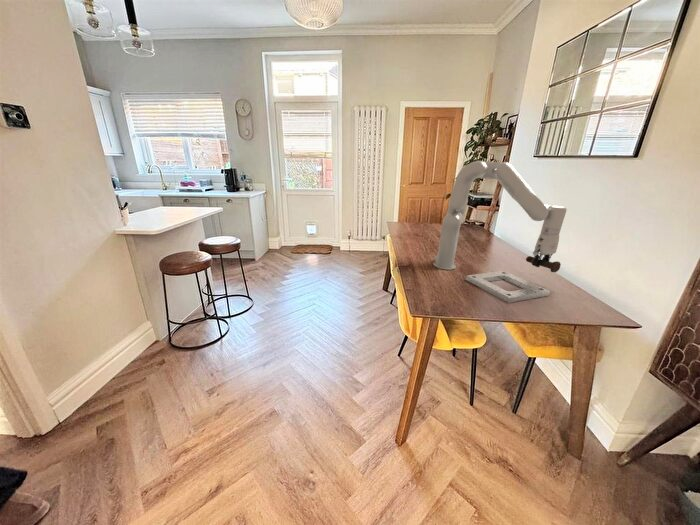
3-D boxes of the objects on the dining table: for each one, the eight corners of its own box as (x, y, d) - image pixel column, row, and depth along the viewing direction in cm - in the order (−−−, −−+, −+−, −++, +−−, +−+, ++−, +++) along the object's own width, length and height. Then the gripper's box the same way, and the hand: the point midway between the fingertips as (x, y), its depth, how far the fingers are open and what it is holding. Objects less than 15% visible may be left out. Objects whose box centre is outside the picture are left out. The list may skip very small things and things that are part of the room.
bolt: (526, 265, 147) (556, 274, 134) (522, 261, 144) (551, 270, 131) (532, 255, 146) (562, 264, 133) (528, 251, 144) (558, 260, 131)
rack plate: (465, 279, 143) (466, 275, 142) (502, 274, 152) (503, 270, 151) (508, 302, 120) (509, 297, 119) (548, 295, 129) (550, 290, 128)
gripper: (545, 234, 127) (535, 270, 133) (569, 232, 133) (558, 266, 139) (530, 230, 134) (521, 264, 140) (554, 228, 139) (544, 261, 146)
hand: (540, 265), depth 139 cm, fingers closed on bolt, 5 cm apart
